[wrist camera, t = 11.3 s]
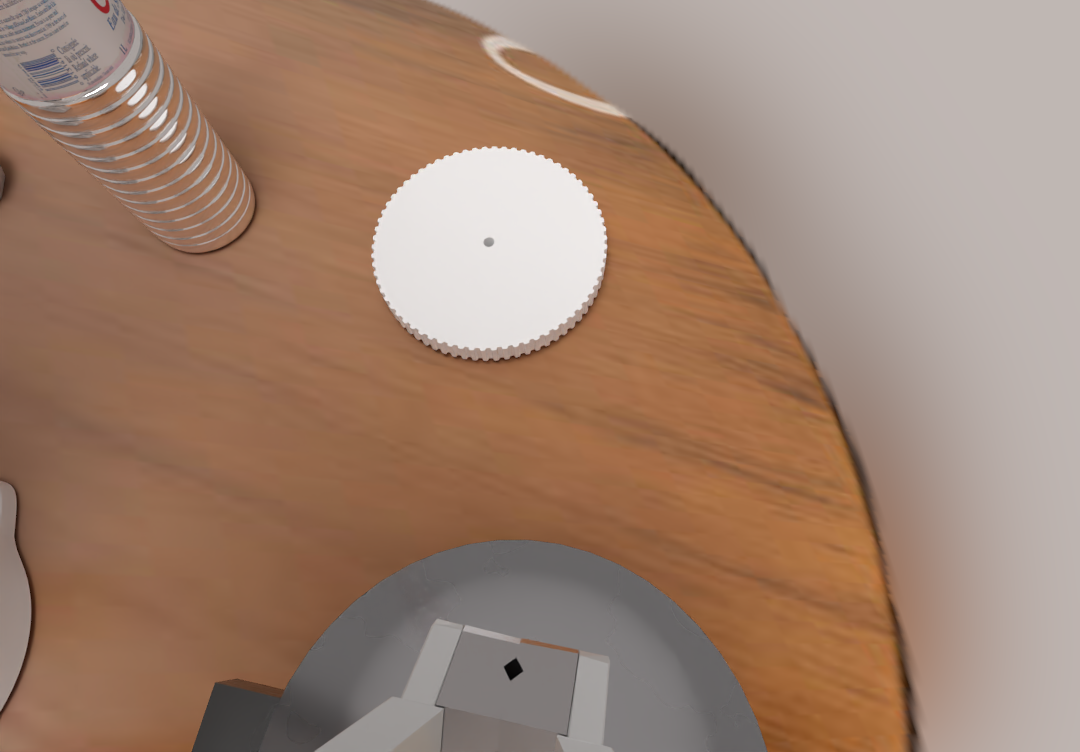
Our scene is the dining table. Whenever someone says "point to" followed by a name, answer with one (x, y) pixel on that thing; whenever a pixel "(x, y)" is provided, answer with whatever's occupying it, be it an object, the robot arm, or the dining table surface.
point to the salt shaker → (1, 181)
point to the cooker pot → (237, 717)
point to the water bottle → (124, 118)
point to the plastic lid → (490, 253)
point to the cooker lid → (536, 614)
